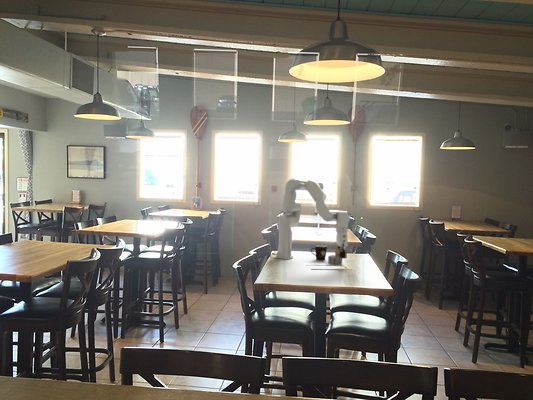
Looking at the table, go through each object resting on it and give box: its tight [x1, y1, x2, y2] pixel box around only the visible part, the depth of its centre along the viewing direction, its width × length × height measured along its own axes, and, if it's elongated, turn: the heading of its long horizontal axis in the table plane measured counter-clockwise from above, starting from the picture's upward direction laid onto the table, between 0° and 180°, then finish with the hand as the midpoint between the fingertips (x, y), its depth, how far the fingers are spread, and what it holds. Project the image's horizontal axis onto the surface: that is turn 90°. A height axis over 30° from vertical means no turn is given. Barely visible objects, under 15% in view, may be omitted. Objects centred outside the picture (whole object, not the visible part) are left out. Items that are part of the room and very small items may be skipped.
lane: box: [310, 264, 352, 271], centre depth 292 cm, size 27×15×1 cm, turn 99°
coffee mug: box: [310, 244, 328, 261], centre depth 319 cm, size 12×9×10 cm
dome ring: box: [327, 254, 343, 265], centre depth 307 cm, size 9×9×5 cm
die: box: [334, 247, 348, 259], centre depth 292 cm, size 6×6×6 cm
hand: (340, 256), depth 292 cm, fingers closed on die, 6 cm apart
